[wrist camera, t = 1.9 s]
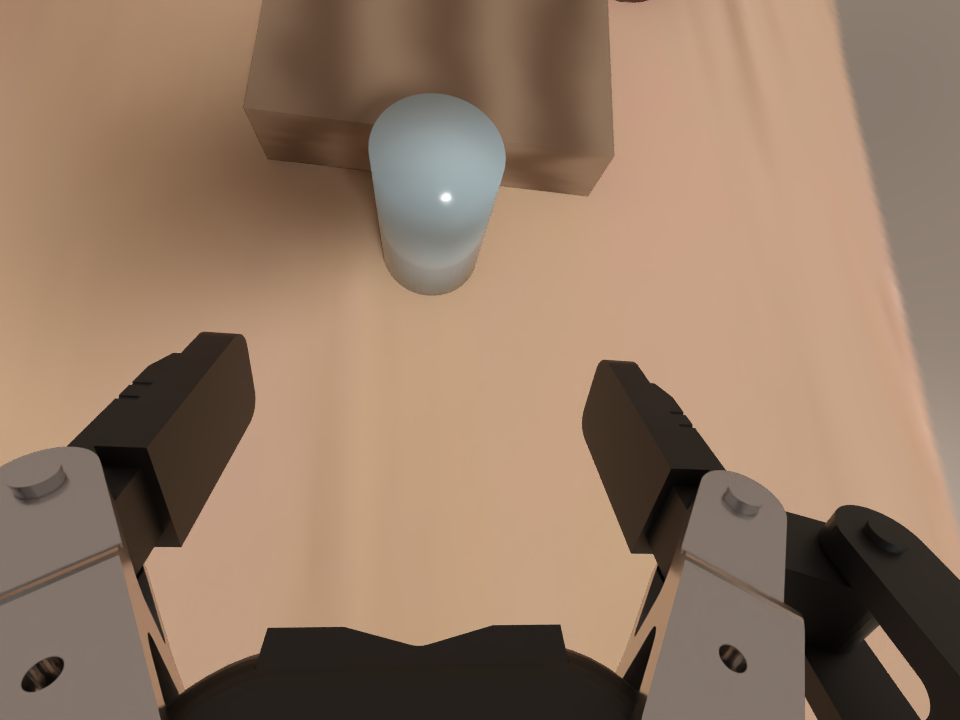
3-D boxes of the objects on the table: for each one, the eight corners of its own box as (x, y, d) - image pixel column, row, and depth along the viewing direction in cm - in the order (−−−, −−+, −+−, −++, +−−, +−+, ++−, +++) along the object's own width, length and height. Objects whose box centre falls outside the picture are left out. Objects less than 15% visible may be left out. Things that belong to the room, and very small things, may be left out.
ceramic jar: (379, 291, 26) (362, 204, 17) (387, 205, 27) (374, 84, 19) (475, 299, 27) (504, 219, 18) (478, 214, 28) (506, 103, 19)
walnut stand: (267, 158, 27) (243, 107, 23) (297, -23, 30) (280, -95, 26) (588, 196, 30) (614, 155, 26) (583, 25, 33) (606, -34, 29)
